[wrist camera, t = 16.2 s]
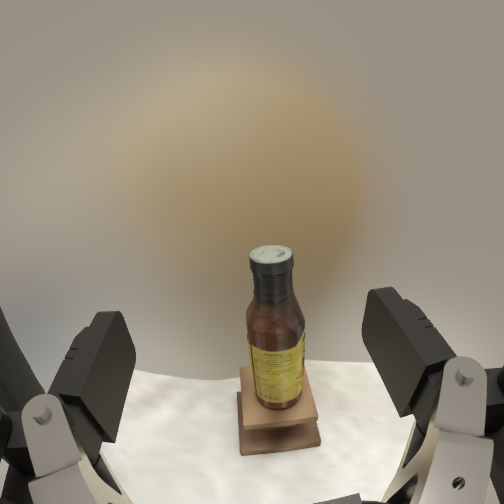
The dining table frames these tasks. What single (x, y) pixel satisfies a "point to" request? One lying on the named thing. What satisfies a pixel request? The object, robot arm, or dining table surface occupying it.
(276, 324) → the sauce bottle
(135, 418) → the dining table surface
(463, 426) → the robot arm
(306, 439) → the walnut pedestal
